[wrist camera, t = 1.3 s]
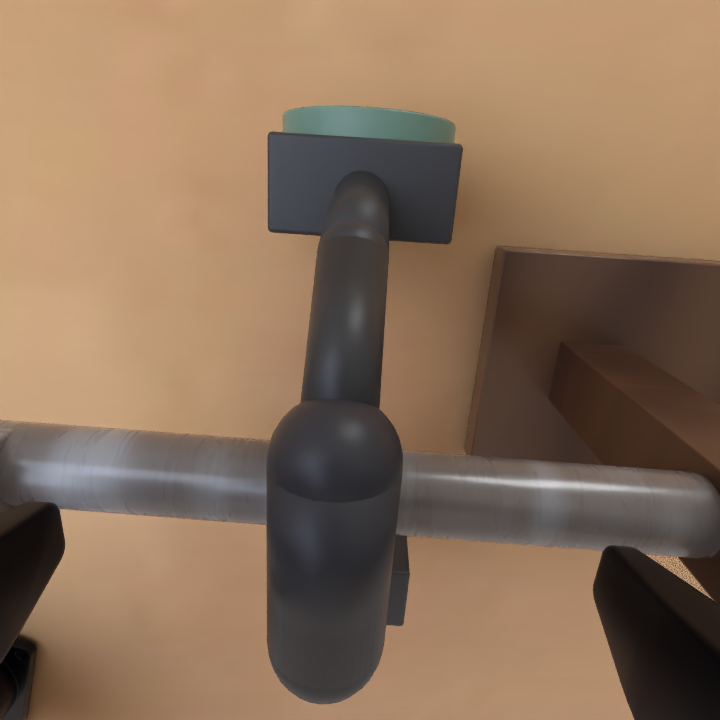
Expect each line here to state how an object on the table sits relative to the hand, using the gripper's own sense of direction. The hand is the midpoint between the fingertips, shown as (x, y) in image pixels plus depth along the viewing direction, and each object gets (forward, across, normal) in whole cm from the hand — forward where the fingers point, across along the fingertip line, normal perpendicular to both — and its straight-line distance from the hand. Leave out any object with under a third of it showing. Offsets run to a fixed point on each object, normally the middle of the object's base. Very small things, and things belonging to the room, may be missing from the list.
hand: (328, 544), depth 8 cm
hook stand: (+11, -3, 0) cm, 11 cm away
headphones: (+9, 0, 0) cm, 9 cm away
